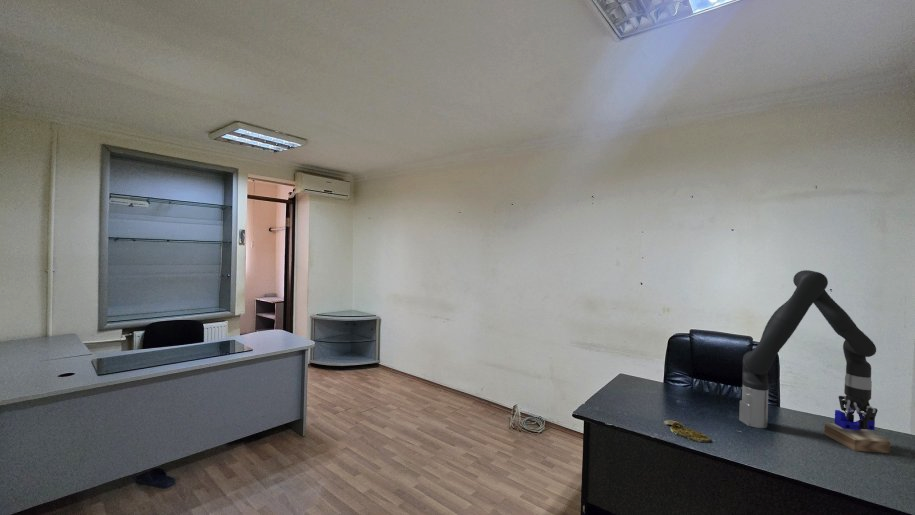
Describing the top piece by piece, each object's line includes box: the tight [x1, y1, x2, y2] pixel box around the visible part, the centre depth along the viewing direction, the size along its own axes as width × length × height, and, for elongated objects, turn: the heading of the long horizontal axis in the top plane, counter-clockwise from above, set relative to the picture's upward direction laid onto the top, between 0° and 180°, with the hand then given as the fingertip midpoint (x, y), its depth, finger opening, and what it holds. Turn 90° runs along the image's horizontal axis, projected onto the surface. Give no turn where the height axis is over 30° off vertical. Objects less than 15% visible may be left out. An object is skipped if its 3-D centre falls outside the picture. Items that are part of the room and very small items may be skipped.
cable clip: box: [834, 409, 876, 431], centre depth 150 cm, size 12×4×6 cm, turn 80°
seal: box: [669, 421, 712, 444], centre depth 154 cm, size 9×5×15 cm
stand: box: [824, 422, 891, 454], centre depth 150 cm, size 13×13×5 cm
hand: (856, 425), depth 150 cm, fingers closed on cable clip, 4 cm apart
